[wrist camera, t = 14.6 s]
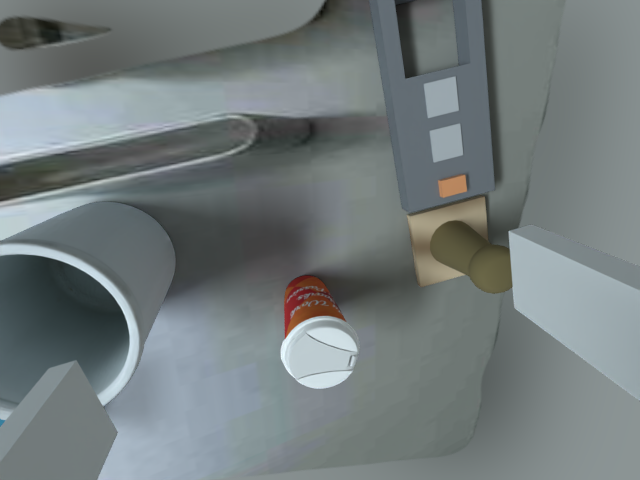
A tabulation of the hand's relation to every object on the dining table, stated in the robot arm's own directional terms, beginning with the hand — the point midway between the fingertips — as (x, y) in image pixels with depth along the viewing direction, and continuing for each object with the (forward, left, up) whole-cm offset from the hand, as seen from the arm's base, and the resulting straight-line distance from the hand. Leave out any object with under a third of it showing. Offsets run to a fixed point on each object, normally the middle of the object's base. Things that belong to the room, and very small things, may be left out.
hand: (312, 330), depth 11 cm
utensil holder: (+5, -20, -34) cm, 40 cm away
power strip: (-7, +20, -34) cm, 40 cm away
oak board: (+14, +20, -34) cm, 42 cm away
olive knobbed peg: (+14, +20, -33) cm, 41 cm away
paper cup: (+16, 0, -34) cm, 38 cm away
